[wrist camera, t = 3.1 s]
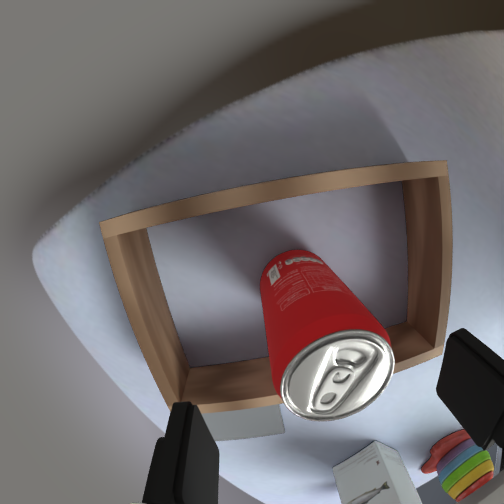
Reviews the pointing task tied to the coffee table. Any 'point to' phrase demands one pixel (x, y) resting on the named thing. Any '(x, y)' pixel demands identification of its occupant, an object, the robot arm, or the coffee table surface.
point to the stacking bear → (459, 465)
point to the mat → (245, 423)
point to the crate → (258, 370)
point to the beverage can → (321, 340)
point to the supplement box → (375, 478)
